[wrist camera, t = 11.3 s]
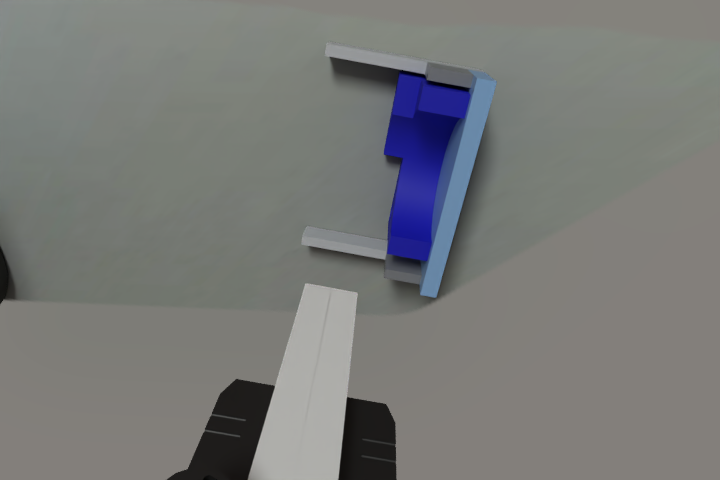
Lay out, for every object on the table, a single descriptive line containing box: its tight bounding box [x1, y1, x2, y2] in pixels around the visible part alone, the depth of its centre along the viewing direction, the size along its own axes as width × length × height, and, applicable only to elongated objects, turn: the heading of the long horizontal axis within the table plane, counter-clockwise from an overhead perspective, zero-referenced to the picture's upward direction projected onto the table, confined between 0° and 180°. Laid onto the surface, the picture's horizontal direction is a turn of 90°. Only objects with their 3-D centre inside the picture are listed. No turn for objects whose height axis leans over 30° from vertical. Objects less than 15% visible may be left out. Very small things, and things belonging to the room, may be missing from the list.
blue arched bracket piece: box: [384, 71, 471, 261], centre depth 35 cm, size 12×4×6 cm, turn 171°
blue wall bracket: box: [302, 42, 497, 298], centre depth 35 cm, size 11×16×6 cm
